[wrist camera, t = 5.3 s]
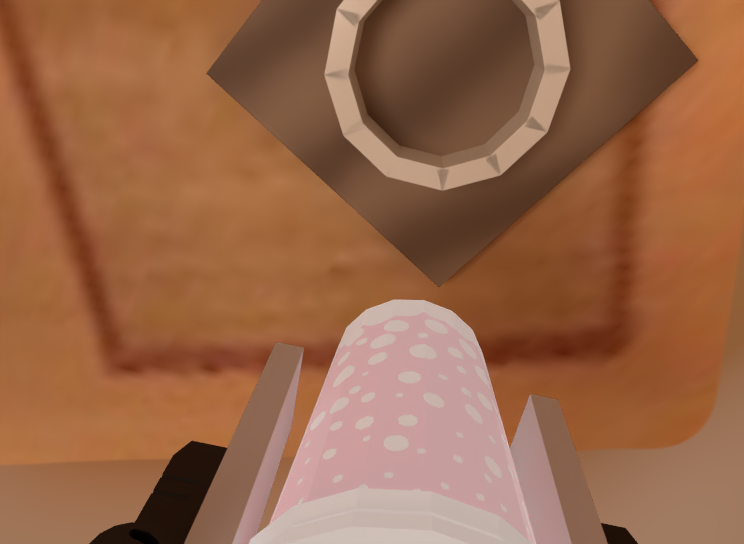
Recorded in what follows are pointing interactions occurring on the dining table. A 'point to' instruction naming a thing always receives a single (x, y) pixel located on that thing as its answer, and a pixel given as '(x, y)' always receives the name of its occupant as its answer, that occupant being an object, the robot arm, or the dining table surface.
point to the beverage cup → (403, 442)
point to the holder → (447, 103)
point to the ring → (465, 165)
